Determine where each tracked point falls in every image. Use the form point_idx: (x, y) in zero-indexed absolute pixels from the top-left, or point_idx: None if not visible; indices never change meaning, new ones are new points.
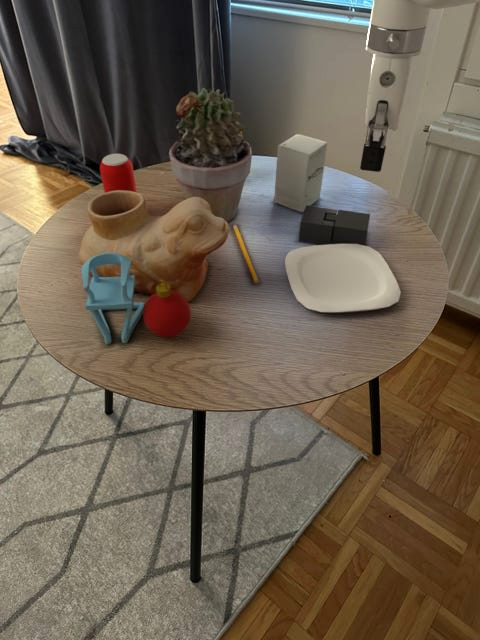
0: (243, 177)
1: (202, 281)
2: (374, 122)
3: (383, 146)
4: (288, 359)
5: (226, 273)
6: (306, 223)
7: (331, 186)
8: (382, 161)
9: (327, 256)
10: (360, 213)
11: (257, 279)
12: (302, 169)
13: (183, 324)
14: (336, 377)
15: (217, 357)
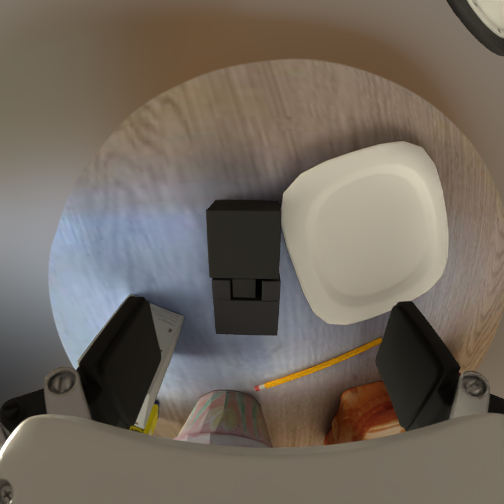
0: (240, 440)
1: (381, 383)
2: (122, 415)
3: (482, 380)
4: (482, 275)
5: (362, 369)
6: (277, 325)
7: (86, 276)
8: (427, 323)
9: (322, 264)
10: (211, 231)
11: (380, 340)
12: (159, 377)
13: (459, 373)
14: (499, 227)
15: (470, 331)
